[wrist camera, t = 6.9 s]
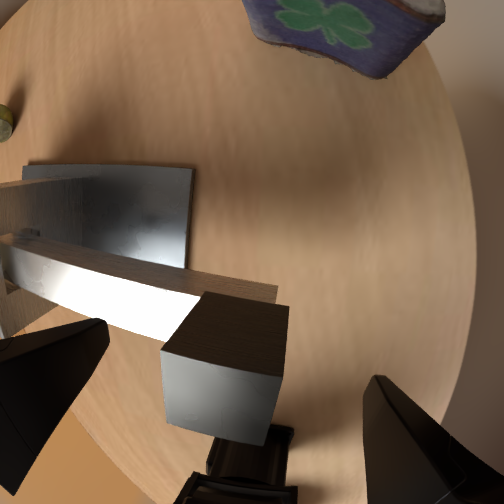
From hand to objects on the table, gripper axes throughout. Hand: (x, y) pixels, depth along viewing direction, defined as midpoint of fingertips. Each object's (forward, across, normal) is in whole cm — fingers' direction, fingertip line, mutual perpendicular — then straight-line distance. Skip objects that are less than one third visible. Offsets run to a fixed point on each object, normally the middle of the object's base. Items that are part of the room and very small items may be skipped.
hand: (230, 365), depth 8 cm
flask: (+11, -2, -15) cm, 18 cm away
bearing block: (+10, +14, 0) cm, 18 cm away
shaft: (+4, +8, 0) cm, 9 cm away
